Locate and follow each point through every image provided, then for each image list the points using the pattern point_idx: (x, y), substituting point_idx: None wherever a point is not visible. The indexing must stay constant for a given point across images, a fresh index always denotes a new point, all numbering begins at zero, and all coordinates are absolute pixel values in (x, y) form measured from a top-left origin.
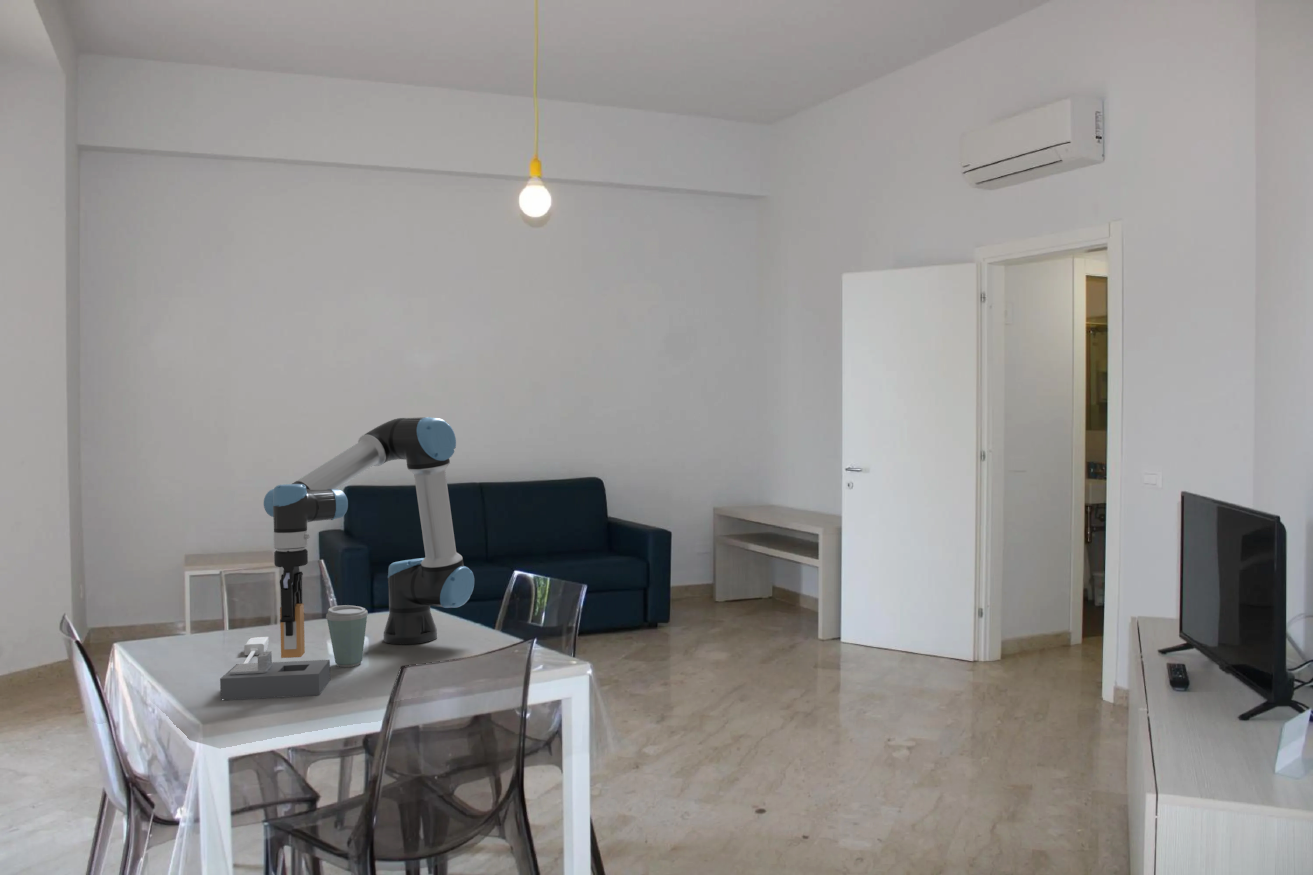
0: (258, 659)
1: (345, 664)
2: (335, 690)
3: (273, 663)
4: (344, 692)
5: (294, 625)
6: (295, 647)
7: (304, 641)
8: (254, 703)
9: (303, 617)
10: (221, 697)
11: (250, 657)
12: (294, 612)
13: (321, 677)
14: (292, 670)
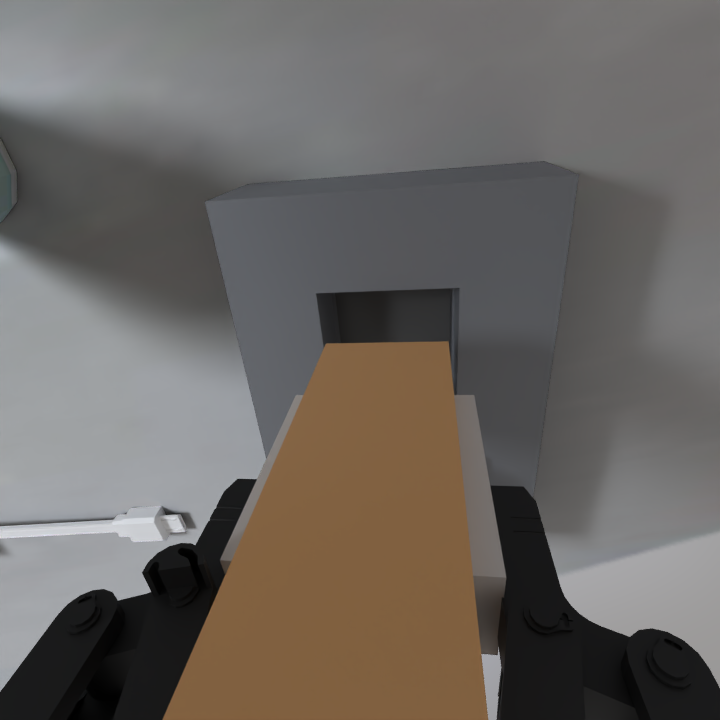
0: None
1: (7, 167)
2: (466, 89)
3: None
4: (527, 11)
5: (497, 545)
6: (474, 404)
7: (309, 382)
8: (595, 407)
9: (270, 536)
10: None
11: (31, 529)
12: (544, 714)
13: (481, 175)
14: None
